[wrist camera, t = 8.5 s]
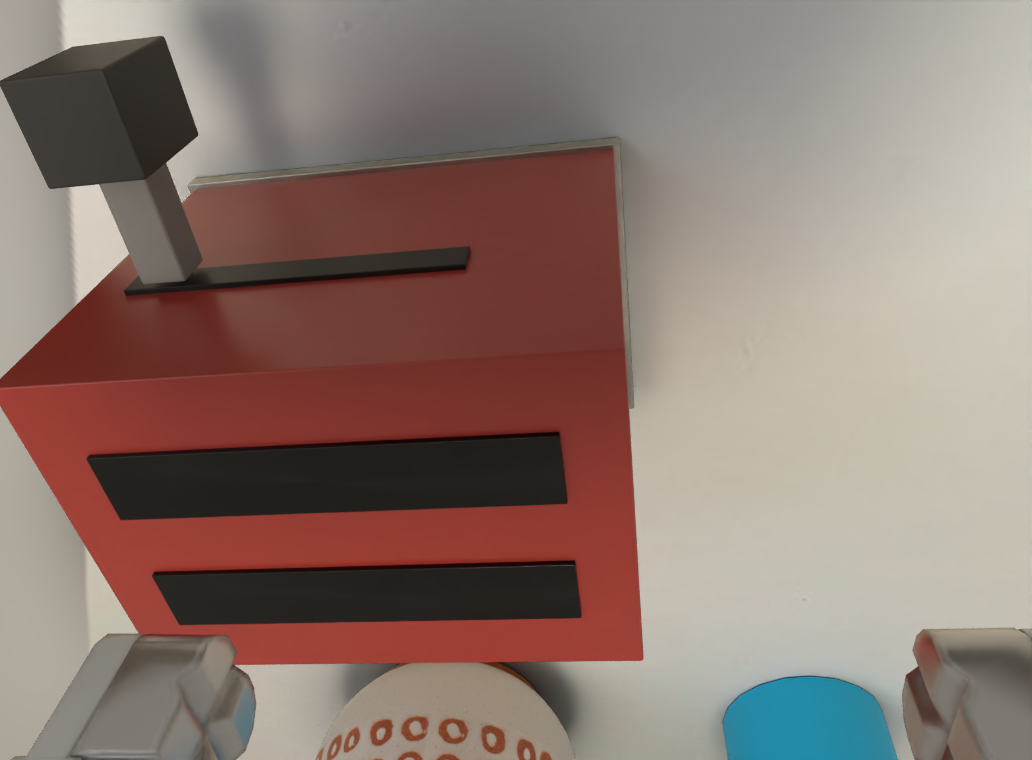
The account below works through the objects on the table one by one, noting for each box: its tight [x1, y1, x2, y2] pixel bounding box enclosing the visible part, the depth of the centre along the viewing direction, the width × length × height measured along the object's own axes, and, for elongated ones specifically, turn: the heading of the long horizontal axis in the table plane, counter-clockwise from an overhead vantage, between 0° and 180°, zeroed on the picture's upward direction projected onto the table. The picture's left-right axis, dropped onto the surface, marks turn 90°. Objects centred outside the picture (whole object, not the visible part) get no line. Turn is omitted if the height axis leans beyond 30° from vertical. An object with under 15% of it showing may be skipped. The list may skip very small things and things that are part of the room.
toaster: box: [0, 137, 643, 665], centre depth 25 cm, size 10×14×12 cm
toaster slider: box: [0, 36, 203, 284], centre depth 20 cm, size 5×2×3 cm, turn 7°
